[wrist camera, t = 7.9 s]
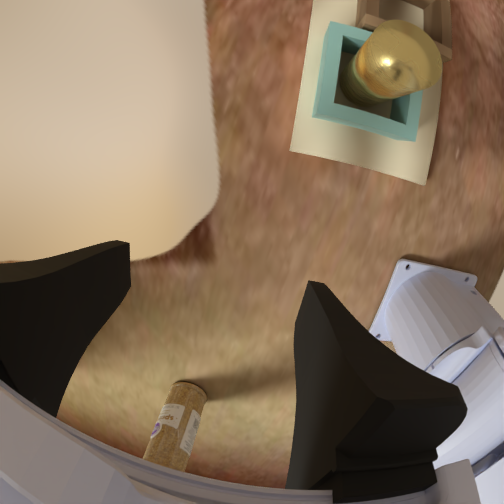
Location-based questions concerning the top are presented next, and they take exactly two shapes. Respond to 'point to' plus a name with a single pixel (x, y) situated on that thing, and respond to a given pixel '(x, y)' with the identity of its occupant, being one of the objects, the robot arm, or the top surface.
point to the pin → (391, 65)
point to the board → (350, 138)
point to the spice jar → (176, 427)
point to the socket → (396, 127)
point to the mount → (434, 21)
